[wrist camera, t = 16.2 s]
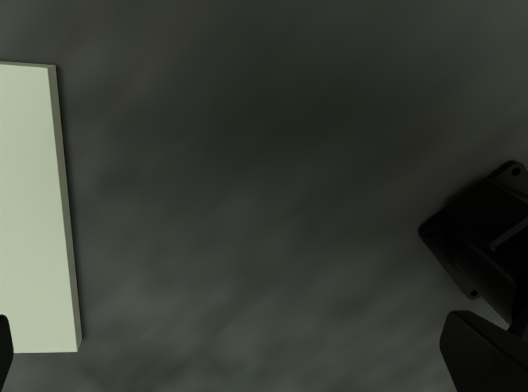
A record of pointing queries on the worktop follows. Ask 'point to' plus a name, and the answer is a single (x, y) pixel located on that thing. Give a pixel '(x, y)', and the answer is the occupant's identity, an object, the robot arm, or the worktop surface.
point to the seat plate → (35, 214)
